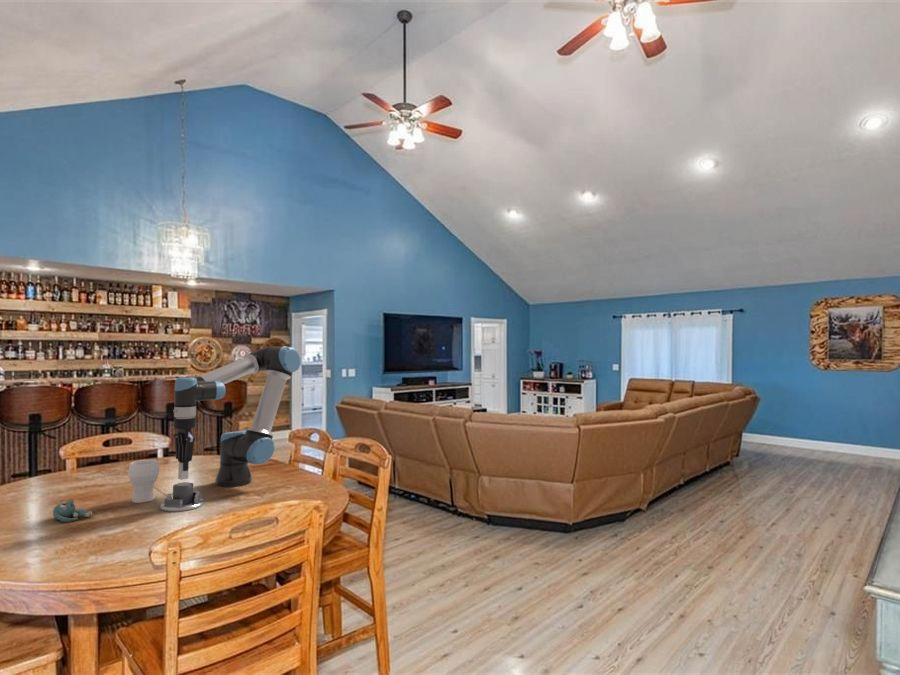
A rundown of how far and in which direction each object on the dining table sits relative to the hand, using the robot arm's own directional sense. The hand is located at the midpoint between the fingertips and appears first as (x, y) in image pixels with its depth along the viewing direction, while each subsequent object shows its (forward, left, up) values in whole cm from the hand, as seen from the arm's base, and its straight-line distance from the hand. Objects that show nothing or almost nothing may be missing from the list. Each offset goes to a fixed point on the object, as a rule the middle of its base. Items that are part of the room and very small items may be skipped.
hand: (183, 478), depth 197 cm
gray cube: (0, 0, -9) cm, 9 cm away
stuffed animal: (-14, -32, -11) cm, 36 cm away
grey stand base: (0, 0, -10) cm, 10 cm away
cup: (-19, -7, -11) cm, 23 cm away
